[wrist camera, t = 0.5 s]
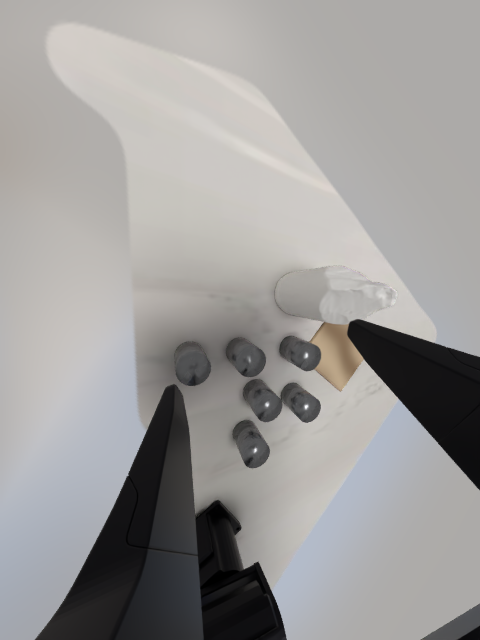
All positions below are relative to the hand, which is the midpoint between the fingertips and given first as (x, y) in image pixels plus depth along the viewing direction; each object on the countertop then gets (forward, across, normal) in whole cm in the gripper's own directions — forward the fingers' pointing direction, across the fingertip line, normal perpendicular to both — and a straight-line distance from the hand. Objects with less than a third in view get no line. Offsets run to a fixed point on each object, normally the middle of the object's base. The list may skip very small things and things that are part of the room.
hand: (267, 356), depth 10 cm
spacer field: (+10, -1, +13) cm, 17 cm away
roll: (+14, -9, +7) cm, 18 cm away
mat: (+10, -14, +16) cm, 24 cm away
